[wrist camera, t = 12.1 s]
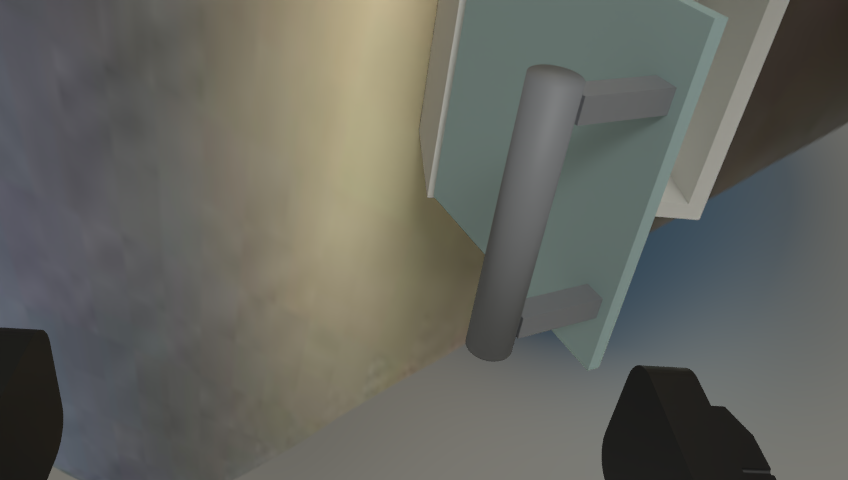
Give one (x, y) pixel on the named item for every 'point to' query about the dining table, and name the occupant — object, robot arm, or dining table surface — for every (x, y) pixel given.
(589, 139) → the door
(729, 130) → the cabinet
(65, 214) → the dining table surface
